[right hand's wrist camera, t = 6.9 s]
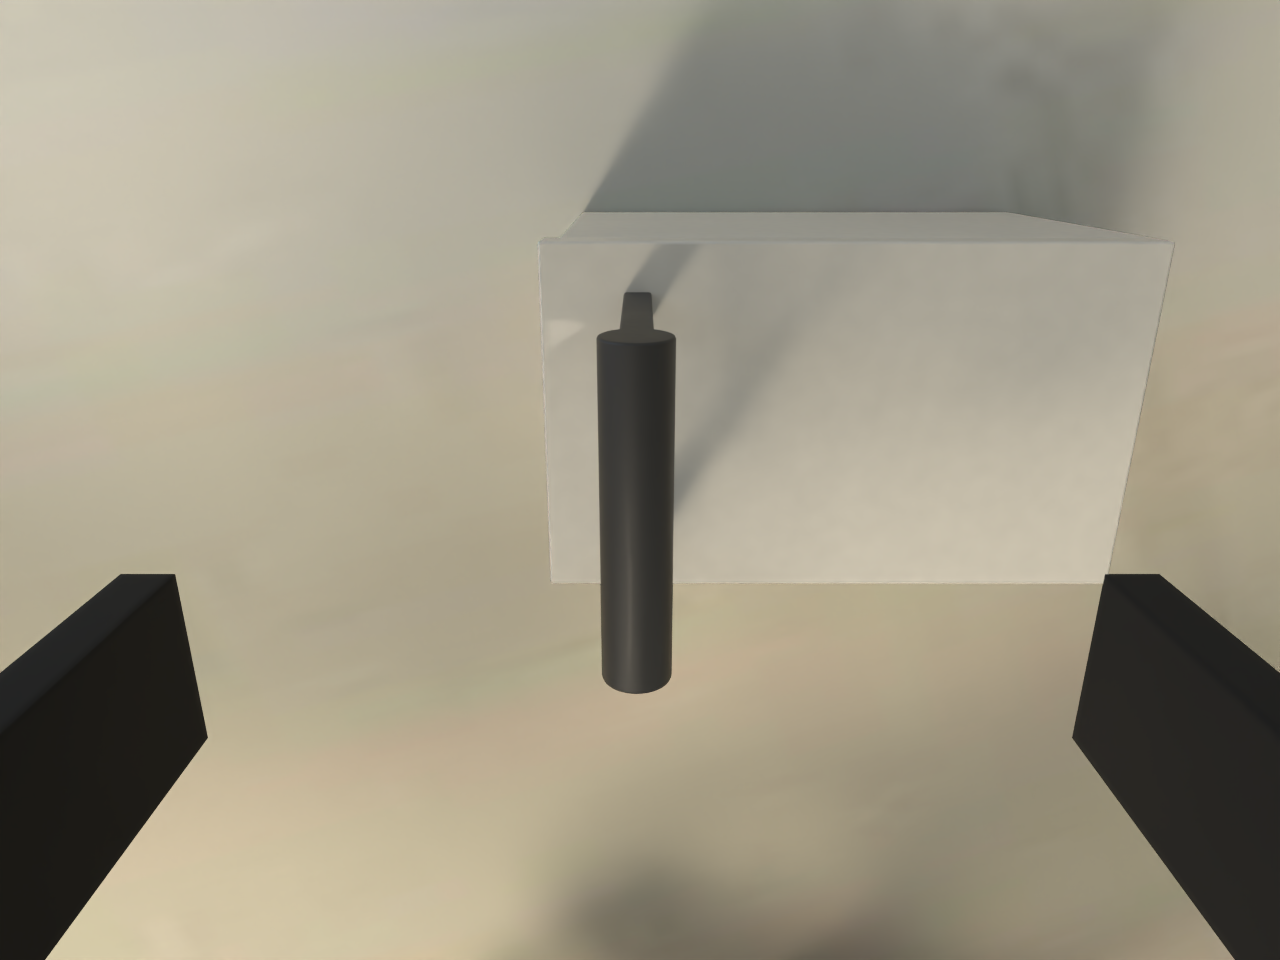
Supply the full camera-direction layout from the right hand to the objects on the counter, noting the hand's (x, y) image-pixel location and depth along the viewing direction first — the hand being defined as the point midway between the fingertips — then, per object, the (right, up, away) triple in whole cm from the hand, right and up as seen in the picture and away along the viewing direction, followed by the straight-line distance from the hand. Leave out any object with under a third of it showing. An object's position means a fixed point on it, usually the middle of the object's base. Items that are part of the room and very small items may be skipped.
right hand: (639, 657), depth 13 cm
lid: (+5, +4, +12) cm, 14 cm away
